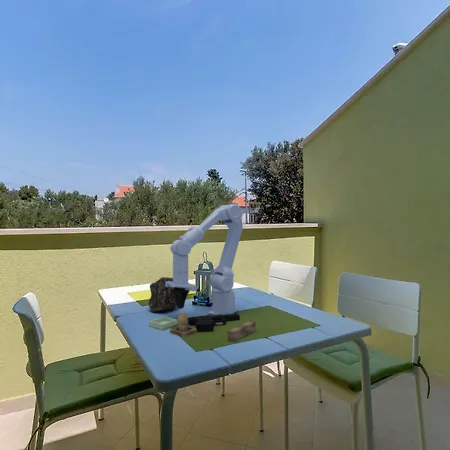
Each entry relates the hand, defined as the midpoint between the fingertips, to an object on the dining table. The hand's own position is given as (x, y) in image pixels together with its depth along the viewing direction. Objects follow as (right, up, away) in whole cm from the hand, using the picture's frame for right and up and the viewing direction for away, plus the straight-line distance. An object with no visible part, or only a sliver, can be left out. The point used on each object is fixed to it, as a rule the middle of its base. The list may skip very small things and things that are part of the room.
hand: (180, 308), depth 119 cm
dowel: (+3, -4, -14) cm, 15 cm away
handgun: (+14, -5, -6) cm, 16 cm away
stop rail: (+22, -4, -17) cm, 28 cm away
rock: (-9, -5, +14) cm, 18 cm away
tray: (-5, -4, -7) cm, 10 cm away
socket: (+3, -4, -14) cm, 15 cm away
